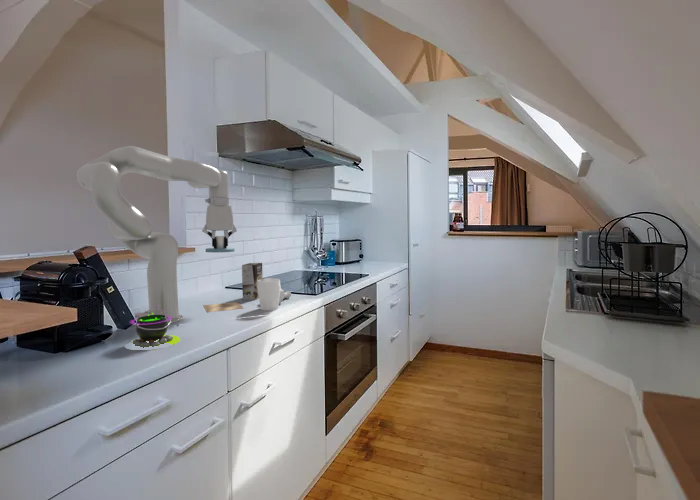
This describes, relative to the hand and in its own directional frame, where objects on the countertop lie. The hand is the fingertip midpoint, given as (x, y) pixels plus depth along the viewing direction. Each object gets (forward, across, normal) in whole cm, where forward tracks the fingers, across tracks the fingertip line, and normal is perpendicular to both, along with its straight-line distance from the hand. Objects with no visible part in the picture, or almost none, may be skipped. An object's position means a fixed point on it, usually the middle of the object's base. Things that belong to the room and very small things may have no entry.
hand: (220, 247), depth 162 cm
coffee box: (+25, +16, +13) cm, 32 cm away
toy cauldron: (+26, -25, -37) cm, 52 cm away
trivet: (+25, +1, 0) cm, 25 cm away
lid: (+1, 0, 0) cm, 1 cm away
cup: (+25, +17, -12) cm, 32 cm away
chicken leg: (+25, +24, +2) cm, 35 cm away
